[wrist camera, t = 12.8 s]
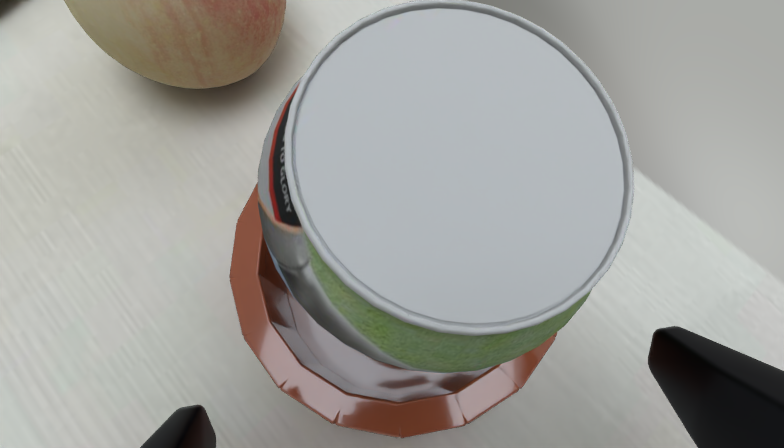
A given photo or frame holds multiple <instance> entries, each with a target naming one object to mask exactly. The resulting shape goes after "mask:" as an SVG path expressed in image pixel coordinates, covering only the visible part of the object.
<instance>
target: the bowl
mask: <svg viewBox="0 0 784 448" xmlns="http://www.w3.org/2000/svg"><path fill="white" fill-rule="evenodd" d="M230 284H231V288H232V292H233V296H234V301H235V305H236V309H237V313H238V318H239V322H240V326H241V330H242V335H243V336H244V339H245V341H246V342H247V344H248V345H249V347H250V348H251V349H252V351H253V352H254V354H255V355H256V357H257V358H258V360H259V361H260V362H261V364H262V365H263V367H264V368H265V370H266V371H267V373H268V374H269V375H270V377H271V378H272V380H273V381H274V383H275V384H276V385H277V387H278V388H280V389H281V391H283V392H284V393H286V394H287V395H289V396H290V397H292V398H293V399H295V400H296V401H298V402H300V403H301V404H303V405H304V406H306V407H307V408H309V409H310V410H312V411H313V412H315V413H316V414H318V415H319V416H321V417H322V418H324V419H325V420H327V421H328V422H330V423H331V424H336V425H337V426H341V427H346V428H351V429H356V430H361V431H366V432H371V433H376V434H381V435H386V436H391V437H396V438H398V437H401V438H406V437H411V436H416V435H421V434H426V433H431V432H436V431H441V430H447V429H452V428H457V427H462V426H465V425H466V424H469V423H471V422H472V421H474V420H475V419H477V418H478V417H480V416H481V415H483V414H484V413H486V412H487V411H489V410H490V409H492V408H493V407H495V406H496V405H498V404H499V403H501V402H502V401H504V400H505V399H507V398H508V397H510V396H511V395H513V394H514V393H516V392H518V390H519V389H521V388H522V387H523V386H524V384H525V383H526V381H527V380H528V378H529V377H530V375H531V374H532V372H533V371H534V369H535V368H536V367H537V365H538V364H539V362H540V361H541V359H542V358H543V356H544V355H545V353H546V352H547V350H548V349H549V348H550V346H551V345H552V343H553V342H554V340H555V337H556V335H557V332H556V333H555V334H554V335H552V336H551V337H550V338H549V339H547V340H546V341H545V342H544V343H542V344H541V345H540V346H538V347H536V348H534V349H532V350H531V351H529V352H527V353H525V354H523V355H521V356H519V357H517V358H515V359H513V360H511V361H509V362H505V363H502V364H498V365H495V366H491V367H488V368H485V369H481V370H477V371H466V372H455V373H434V372H424V371H414V370H408V369H404V368H401V367H397V366H394V365H391V364H387V363H384V362H380V361H377V360H375V359H373V358H371V357H369V356H367V355H365V354H363V353H361V352H359V351H357V350H355V349H353V348H351V347H349V346H347V345H345V344H344V343H342V342H341V341H340V340H339V339H337V338H336V337H335V336H333V335H332V334H331V333H329V332H328V331H327V330H325V329H324V328H323V327H322V326H320V325H319V324H318V323H317V322H316V321H315V320H314V319H313V318H312V317H311V316H310V315H309V314H308V313H307V311H306V310H305V309H304V308H303V307H302V306H301V305H300V304H299V303H298V302H297V300H296V299H295V298H294V297H293V295H292V294H291V292H290V290H289V289H288V287H287V286H286V284H285V282H284V281H283V279H282V278H281V276H280V274H279V273H278V271H277V269H276V267H275V265H274V262H273V260H272V257H271V254H270V252H269V249H268V247H267V244H266V241H265V239H264V236H263V230H262V225H261V219H260V214H259V208H258V182H257V184H256V186H255V188H254V190H253V192H252V194H251V196H250V198H249V200H248V202H247V203H246V205H245V207H244V209H243V211H242V213H241V215H240V217H239V219H238V222H237V225H236V232H235V240H234V247H233V254H232V262H231V269H230Z"/></svg>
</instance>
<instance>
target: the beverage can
mask: <svg viewBox="0 0 784 448" xmlns="http://www.w3.org/2000/svg"><path fill="white" fill-rule="evenodd" d="M633 196H634V175H633V161H632V156H631V152H630V148H629V143H628V139H627V134H626V132H625V130H624V127H623V124H622V122H621V119H620V117H619V115H618V112H617V109H616V107H615V106H614V104H613V102H612V101H611V99H610V97H609V96H608V94H607V92H606V90H605V89H604V87H603V85H602V84H601V83H600V82H599V80H598V79H597V78H596V77H595V75H594V74H593V73H592V71H591V70H590V69H589V68H588V67H587V65H586V64H585V63H584V62H583V61H582V60H581V59H580V58H579V57H578V56H577V55H576V54H575V53H574V52H573V51H571V50H570V49H569V48H568V47H567V46H566V45H565V44H564V43H562V42H561V41H560V40H558V39H557V38H555V37H554V36H553V35H551V34H550V33H548V32H547V31H546V30H544V29H543V28H541V27H539V26H537V25H535V24H534V23H532V22H530V21H528V20H526V19H524V18H522V17H520V16H518V15H516V14H513V13H510V12H507V11H505V10H501V9H499V8H496V7H493V6H490V5H485V4H480V3H475V2H470V1H465V0H421V1H410V2H406V3H402V4H399V5H395V6H391V7H387V8H384V9H381V10H379V11H377V12H375V13H373V14H370V15H368V16H366V17H364V18H362V19H360V20H358V21H356V22H355V23H354V24H352V25H351V26H349V27H348V28H346V29H345V30H344V31H342V32H341V33H339V34H338V35H336V36H335V37H334V38H333V39H332V40H331V41H330V42H329V43H328V44H327V45H326V47H325V48H324V49H323V50H322V51H321V52H320V53H319V54H318V55H317V56H316V57H315V59H314V60H313V62H312V63H311V65H310V67H309V68H308V70H307V71H306V73H305V74H304V75H303V76H302V77H301V78H300V79H299V80H298V81H297V82H296V83H295V84H294V86H293V87H292V89H291V90H290V92H289V93H288V95H287V96H286V98H285V99H284V101H283V102H282V104H281V105H280V107H279V108H278V110H277V111H276V114H275V116H274V119H273V121H272V123H271V126H270V128H269V131H268V133H267V135H266V138H265V140H264V145H263V150H262V155H261V159H260V164H259V169H258V208H259V214H260V219H261V225H262V230H263V236H264V239H265V241H266V244H267V247H268V249H269V252H270V254H271V257H272V260H273V262H274V265H275V267H276V269H277V271H278V273H279V274H280V276H281V278H282V279H283V281H284V282H285V284H286V286H287V287H288V289H289V290H290V292H291V294H292V295H293V297H294V298H295V299H296V300H297V302H298V303H299V304H300V305H301V306H302V307H303V308H304V309H305V310H306V311H307V313H308V314H309V315H310V316H311V317H312V318H313V319H314V320H315V321H316V322H317V323H318V324H319V325H320V326H322V327H323V328H324V329H325V330H327V331H328V332H329V333H331V334H332V335H333V336H335V337H336V338H337V339H339V340H340V341H341V342H342V343H344V344H345V345H347V346H349V347H351V348H353V349H355V350H357V351H359V352H361V353H363V354H365V355H367V356H369V357H371V358H373V359H375V360H377V361H380V362H384V363H387V364H391V365H394V366H397V367H401V368H404V369H408V370H414V371H424V372H434V373H455V372H466V371H477V370H481V369H485V368H488V367H491V366H495V365H498V364H502V363H505V362H509V361H511V360H513V359H515V358H517V357H519V356H521V355H523V354H525V353H527V352H529V351H531V350H532V349H534V348H536V347H538V346H540V345H541V344H542V343H544V342H545V341H546V340H547V339H549V338H550V337H551V336H552V335H554V334H555V333H556V332H557V331H559V330H560V329H561V328H562V327H564V326H565V325H566V324H567V322H568V321H569V320H570V319H571V318H572V316H573V315H574V314H575V313H576V312H577V310H578V309H579V308H580V307H581V306H582V304H583V303H584V302H585V301H586V299H587V297H588V296H589V294H590V292H591V290H592V288H593V287H594V286H595V285H596V284H597V283H598V281H599V280H600V279H601V278H602V277H603V275H604V274H605V273H606V272H607V271H608V269H609V268H610V266H611V264H612V262H613V260H614V259H615V257H616V255H617V253H618V251H619V249H620V248H621V246H622V244H623V241H624V237H625V234H626V231H627V228H628V225H629V222H630V218H631V212H632V204H633Z"/></svg>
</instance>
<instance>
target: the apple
mask: <svg viewBox="0 0 784 448" xmlns="http://www.w3.org/2000/svg"><path fill="white" fill-rule="evenodd" d="M64 1H65V3H66V5H67V6H68V8H69V10H70V11H71V13H72V14H73V16H74V17H75V19H76V20H77V22H78V23H79V24H80V25H81V27H82V28H83V29H84V31H85V32H86V33H87V34H88V35H89V37H90V38H91V39H92V40H93V41H94V42H95V43H96V44H97V45H98V46H99V47H100V48H101V49H102V50H104V51H105V52H106V53H107V54H108V55H109V56H111V57H112V58H114V59H115V60H116V61H118V62H119V63H120V64H122V65H123V66H125V67H127V68H128V69H130V70H132V71H134V72H136V73H138V74H140V75H142V76H144V77H146V78H149V79H151V80H153V81H156V82H160V83H163V84H167V85H171V86H176V87H181V88H191V89H202V88H213V87H220V86H225V85H228V84H231V83H234V82H237V81H239V80H242V79H244V78H246V77H248V76H250V75H251V74H253V73H254V72H256V71H257V70H258V69H259V68H260V67H261V66H262V65H263V63H264V62H265V61H266V60H267V59H268V57H269V56H270V54H271V53H272V51H273V49H274V47H275V45H276V43H277V40H278V38H279V35H280V32H281V29H282V25H283V21H284V15H285V8H286V0H64Z"/></svg>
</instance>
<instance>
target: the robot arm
mask: <svg viewBox="0 0 784 448" xmlns="http://www.w3.org/2000/svg"><path fill="white" fill-rule="evenodd" d="M648 365H649V368H650V371H651V373H652V374H653V376H654V378H655V379H656V381H657V382H658V384H659V386H660V387H661V389H662V391H663V392H664V394H665V396H666V397H667V399H668V400H669V402H670V404H671V405H672V407H673V409H674V410H675V412H676V413H677V415H678V417H679V418H680V420H681V422H682V423H683V425H684V426H685V428H686V430H687V431H688V433H689V434H690V436H691V438H692V439H693V441H694V442H695V444H696V445H697V447H698V448H784V371H782V370H780V369H778V368H775V367H773V366H771V365H768V364H766V363H763V362H761V361H759V360H756V359H754V358H752V357H749V356H747V355H745V354H742V353H740V352H738V351H735V350H733V349H730V348H728V347H726V346H723V345H721V344H719V343H716V342H714V341H712V340H709V339H707V338H705V337H702V336H700V335H697V334H695V333H693V332H690V331H688V330H686V329H683V328H681V327H677V326H672V327H666V328H660V329H657V330H656V331H655V332H654V334H653V337H652V342H651V347H650V351H649V356H648ZM140 448H216V436H215V432H214V429H213V427H212V425H211V422H210V420H209V418H208V415H207V413H206V410H205V409H204V407H203V406H201V405H193V406H187V407H182V408H179V409H178V410H176V411H175V412H174V413H173V414H172V415H171V416H170V417H169V418H168V419H167V420H166V421H165V422H164V423H163V424H162V426H161V427H160V428H159V429H158V430H157V431H156V432H155V433H154V434H153V435H152V436H151V437H150V438H149V439H148V440H147V441H146V442H145V443H144V444H143V445H142V446H141V447H140Z"/></svg>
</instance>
